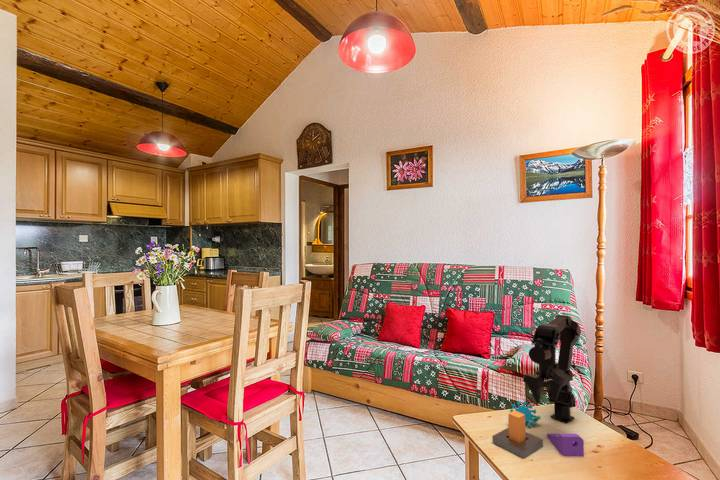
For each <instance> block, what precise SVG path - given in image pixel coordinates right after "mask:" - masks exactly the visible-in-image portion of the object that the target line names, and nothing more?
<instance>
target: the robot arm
mask: <svg viewBox="0 0 720 480" xmlns="http://www.w3.org/2000/svg"><path fill="white" fill-rule="evenodd" d="M581 333H582V329H581V327H580V325H579V323H577V322H576V321H575V320H573V318H572V317H571V316H569V315H565V314H564V315H563V314H557V315H556V316H555V317H554V318H553V319H552V320H551V321H549V322H548V323H540V324H539V325H537V326H536V328H535V329H534V334H533V338H532V342H531V343H532V344H534V346H533V347H531V348H530V349H529V351H528V357H529V359H530V361H532V362H534V363H535V364H537V365H538V366H537V367H538V369H537V371H535V374H533V373H529V374H528V373H527V374H524V375H523V376H522V377H523V379H522V380H523V381H522V382H523V383H525V384H526V385H527V386H528V388H529V391H530V392H531V394H532V396H533V398H534V400H535V403H536V404H540V402H541V393H542V389H544V388H545V386H544V384H545V382H548V381H549V386H548V388H547V396H548V401H549V402H550V403H553V404H554V405H553V406H554V407H553V408H554V409H553V410H554V411H553V412H554V413H553V414H552V415H550V417H551V418H553V419H555V420H557V421H560V422H561V423H562V422H563V423H565V424H567V423H570V422H571V421H573V420H575V417H574V416H572V415H571V409H572V408H576V405H577V404H576V400H577V399H576V397H575V395H574V393H573V388H572V385H571V384H570V382H571V381H574V379H573V378H574V377H573V376H574V375H573V374H574V373H573V371H572V370H571V365H572V357H573V349H574V346H575V345H576V344H577V343H578V341H579V338H580V336H581ZM559 341H560V345H559V353H558V358H557V362H556V356H557V355H556V353H557V352H556V350H557V348H556V347H557V345H558V344H559Z"/></svg>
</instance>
